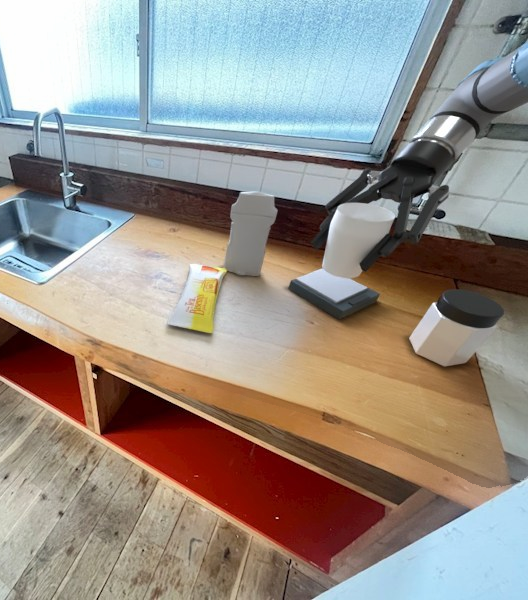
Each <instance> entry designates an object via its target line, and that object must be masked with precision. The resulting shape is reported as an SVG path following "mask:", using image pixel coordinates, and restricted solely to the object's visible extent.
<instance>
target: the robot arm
mask: <svg viewBox="0 0 528 600" xmlns="http://www.w3.org/2000/svg"><path fill="white" fill-rule="evenodd" d="M527 103H528V40H527V41H525V43H523V44H521V45H520V46H519V47H517V48H516V49H514V50H513V51H512V52H510V53H508V54H507V55H506V56H501V57H497V58H495V59H488V60H485V61H483V62H481V63H480V64H478V66H476V67H475V68H474V69H473V70H472V71H471V72H470V73H469V74H468V75H467V76H466V77H463V79H462V80H461V81H460V82H459V83H458V85H457V87H455V89H454V90H453V92H452V93H451V94H450V95H449V96H448V97H447V99H445V101H444V102H443V103H442V104H441V106H440V107H439V108H438V109H437V110H436V111H435V112H434V113H433V115H432V116H430V118H429V119H428V120H427V121H426V122H425V124H424V125H423V126H422V127H421V128H420V129H419V130H418V132H416V133H415V135H414V136H413V137H411V139H410V140H409V143H407V144H406V145H404V147H403V148H402V150H401V151H400V152H399V153H398V154H397V155H396V157H395V158H394V159H393V160H392V162H391V163H390V165H389V166H388V167H386V168H385V169H383V170H382V171H374V170H372V168H371V167H366V168H364V169H363V170H362V172H361V174H360V175H359V176H358V177H357V178H356V179H354V181H352V182H351V183H350V184H349V185H347V187H345V188H344V189H343V190H342V191H340V192H339V193H338V194H337V195H336V196H334V197H333V198H332V199H331V200H329V201H328V202H327V203H326V204H325V206H324V207H325V210H326V212H327V214H328V216H327V217H326V218H325V219H324V220H323V222H322V223H321V224H320V226H319V229H320V231H319V232H317V234H316V235H315V236H314V238H313V239H311V241H310V244H311V245H312V246H313V248H314V250H319V249H320V248H321V247H322V246H323V245H324V243H325V242H327V239H328V233H329V228H330V224H331V221H332V219H333V217H334V214H335V212H336V210H337V208H338V206H339V205H341V204H345V203H366V204H371V203H372V202H377V201H379V200H381V199H383V200H391V201H393V202H395V203H398V204H399V206H398V210H397V211H398V212H397V216H396V221H395V225H394V230H393V232H392V233H393V234H390V233H388V234H386V235H385V236H384V237H383V238H382V239H381V241H380V242H379V243H378V244H377V245H376V246H375V247H374V248H373V249H372V250H371V251H370V253H369V254H368V255H367V256H366V257H365V258H364V259H363V260H362V261H361V262H360V263H359V264H360V267H361V269H362V270H363V271H362V272H365V273H367V272H368V270H370V268H371V267H372V266H373V265H374V264H375V263H376V262H377V261H378V260H379V258H380V257H382V258H387V257H389V256H390V254H392V253H393V251H395V249H397V247H398V246H399V245H400V244H405V243H406V244H407V243H408V244H410V245H416V244H418V243H419V241H420V239H421V238H422V236H423V234H424V232H425V230H426V229H427V227H428V225H429V224H430V222H431V220H432V219H433V217H434V215H435V212H436V211H437V209H438V207H440V205H441V204H442V203H444V202H445V201H446V200H447V199H449V196H450V186H449V185H447V184H442V185H440V186H439V185H437V184H435V182H436V181H438V180H439V179H440V178H441V176H443V174H444V173H445V172H446V171H447V170H448V169H449V168H450V166H452V164H453V162H454V161H456V160H457V159H458V157H459V156H460V155H461V154H462V153H463V152H464V151H465V150H466V149H467V148H468V147H469V145H470V144H471V143H472V142H473V141H474V140H475V139H476V138H477V137H478V136H479V135H480V134H481V133H482V132H483V131H484V129H485V128H486V127H487V126H488V125H489V124H490V123H491V122H493V120H495V119H496V118H498V117H500V116H502V115H504V114H506V113H508V112H511V111H513V110H515V109H518V108H520V107H521V106H524V105H526V104H527ZM375 181H377V182H376V183H374V182H375ZM369 185H370V186H369ZM368 186H369V187H368ZM367 187H368V189H366V188H367ZM363 190H365V191H363ZM362 191H363V192H362ZM425 194H427V200H426V202H425V203H424V205H423V207H422V208H421V210H420V212H419V214H418V215H417V217H416V219H415V221H414V223H413V224H412V226H411V228H410V230H409V231H407V228H408V222H409V218H410V214H411V209H412V207H413V201H414V199H416V198H418V197H420V196H422V195H425Z"/></svg>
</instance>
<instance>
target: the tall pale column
mask: <svg viewBox="0 0 528 600" xmlns="http://www.w3.org/2000/svg"><path fill="white" fill-rule="evenodd" d="M278 210H279V209H278V208H276V206H275V195H274V194H268V193H265V192H262V191H241V192H239V195H238V198H237V200H236V202H235V203H233V204H231V208H230V216H229V217H230V219H231V222H230V232H229V238H228V239H229V241H228V243H227V244H226V249H225V255H224V260H223V262H224V263H223V267H222V268H225V269H227V272H230V273H234V274H236V275H238V276H250V277H251V276H253V277H258V276H260V275H261V271H262V269H263V265H264V260H265V255H266V245H267V243H268V238H269V234H270V232H271V231H270V230H271V226H272V225H274V224H275V221H276V218H277V215H278Z"/></svg>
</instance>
